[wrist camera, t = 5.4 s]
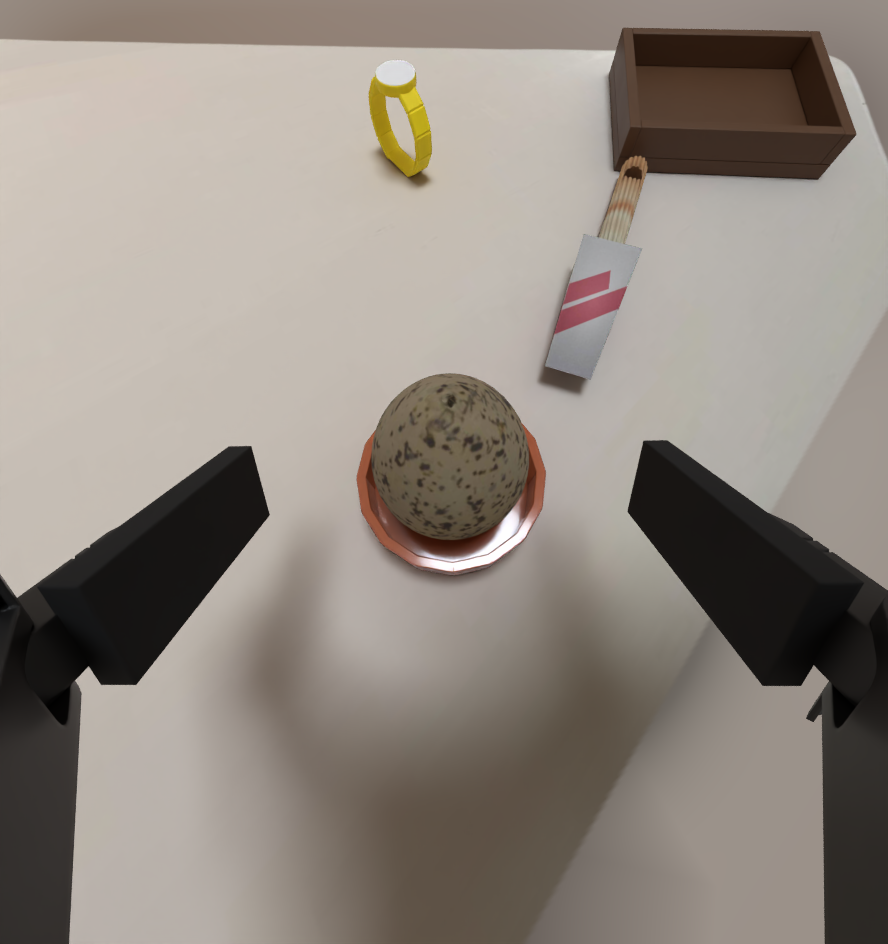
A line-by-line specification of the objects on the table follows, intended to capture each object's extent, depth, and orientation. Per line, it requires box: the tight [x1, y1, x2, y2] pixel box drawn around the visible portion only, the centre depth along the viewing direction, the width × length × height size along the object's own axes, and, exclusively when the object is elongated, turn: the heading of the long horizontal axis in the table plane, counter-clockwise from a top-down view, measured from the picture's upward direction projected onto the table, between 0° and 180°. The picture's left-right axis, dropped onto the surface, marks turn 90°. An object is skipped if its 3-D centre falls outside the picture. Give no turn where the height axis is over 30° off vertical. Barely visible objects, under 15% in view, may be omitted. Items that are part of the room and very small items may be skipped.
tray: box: [609, 28, 856, 179], centre depth 30 cm, size 16×13×3 cm
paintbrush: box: [545, 156, 648, 380], centre depth 26 cm, size 4×3×20 cm
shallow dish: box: [357, 424, 546, 576], centre depth 21 cm, size 10×10×3 cm
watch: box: [369, 60, 432, 177], centre depth 28 cm, size 6×3×6 cm, turn 40°
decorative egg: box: [371, 374, 529, 540], centre depth 17 cm, size 7×7×10 cm
